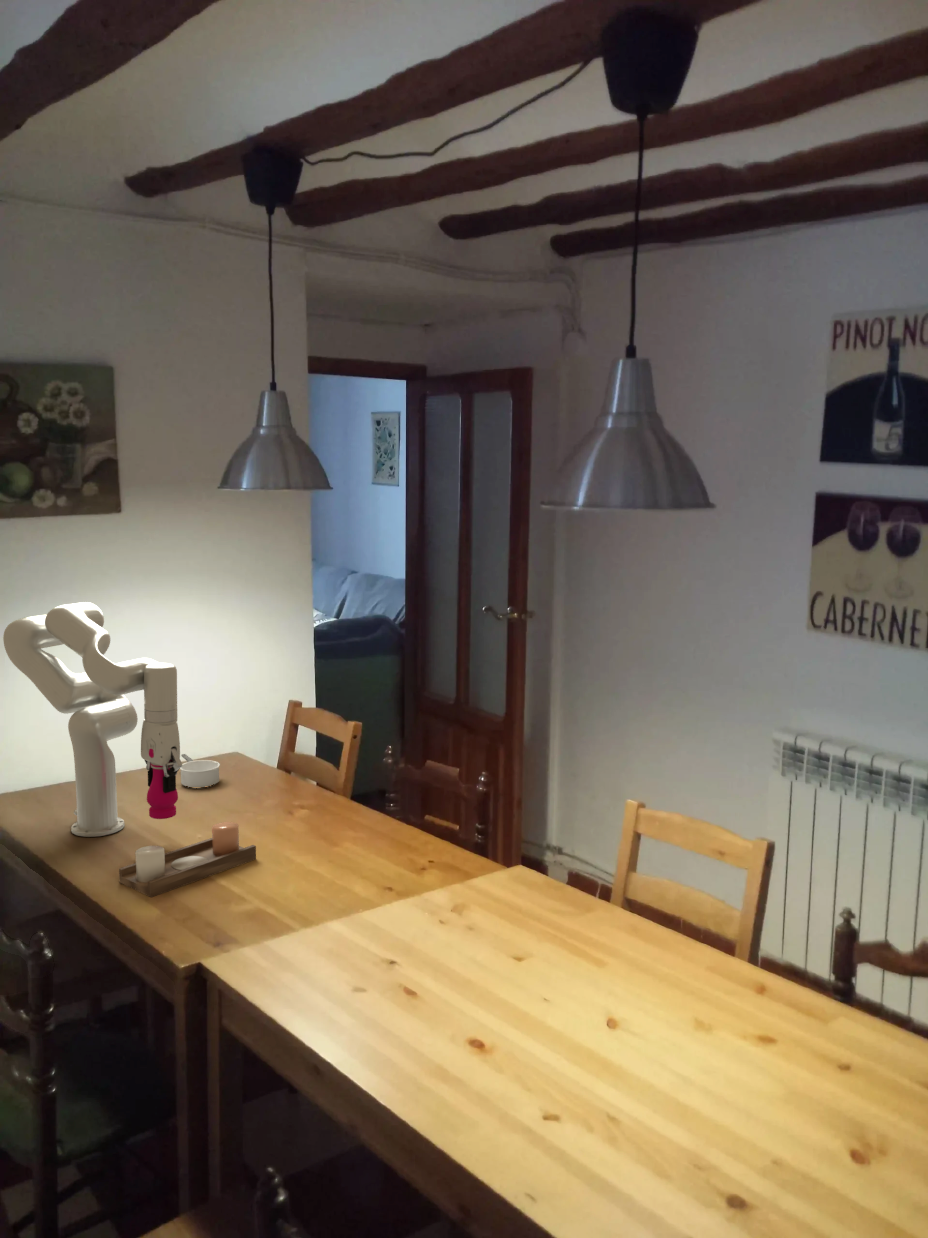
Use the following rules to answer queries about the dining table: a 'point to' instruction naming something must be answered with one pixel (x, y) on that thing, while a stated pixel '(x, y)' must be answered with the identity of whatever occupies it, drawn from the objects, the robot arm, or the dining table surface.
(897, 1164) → the dining table surface
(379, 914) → the dining table surface
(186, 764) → the saucepan
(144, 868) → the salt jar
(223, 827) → the pink pillar candle
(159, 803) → the pepper mill
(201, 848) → the rail
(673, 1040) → the dining table surface
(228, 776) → the dining table surface
